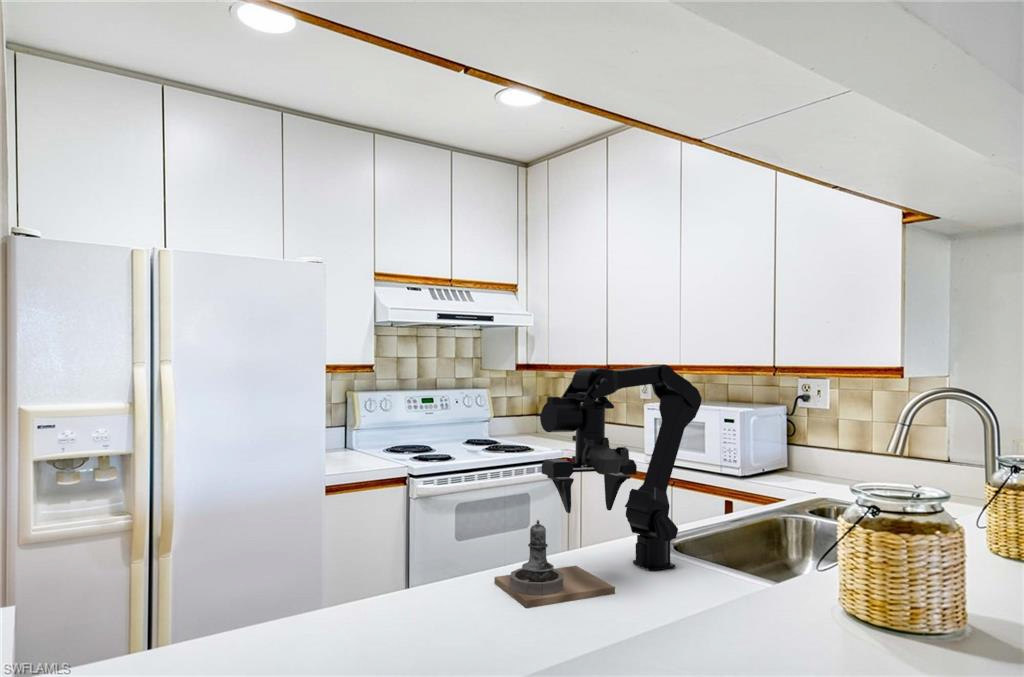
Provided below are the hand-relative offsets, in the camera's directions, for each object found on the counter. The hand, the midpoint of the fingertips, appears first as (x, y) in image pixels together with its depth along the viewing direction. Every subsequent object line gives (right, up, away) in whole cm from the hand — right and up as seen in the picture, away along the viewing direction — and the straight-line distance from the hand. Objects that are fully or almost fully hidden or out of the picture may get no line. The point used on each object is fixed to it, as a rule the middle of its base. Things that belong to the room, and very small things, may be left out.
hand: (588, 511), depth 125 cm
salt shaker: (-10, -12, -9) cm, 18 cm away
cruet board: (-7, -13, -6) cm, 16 cm away
